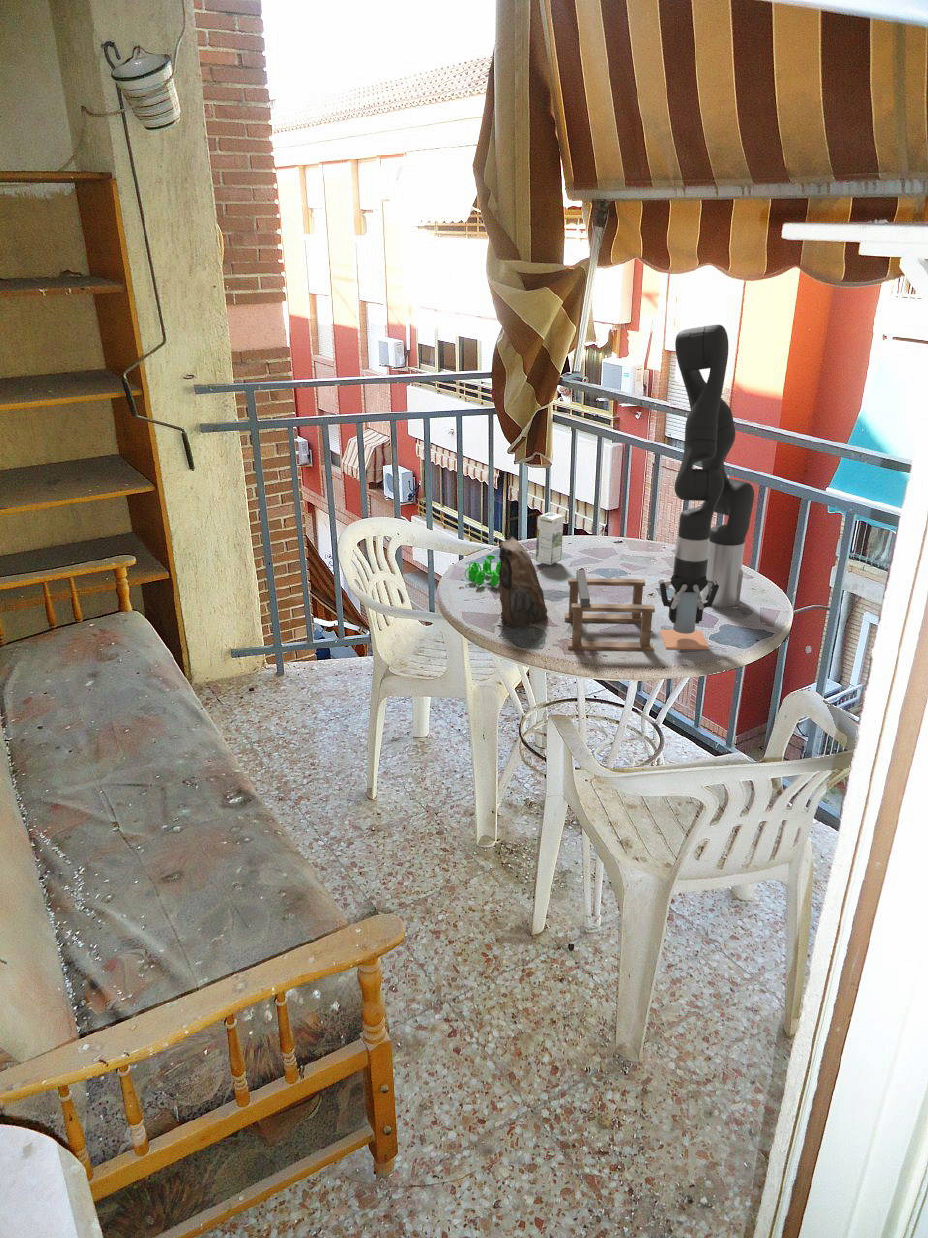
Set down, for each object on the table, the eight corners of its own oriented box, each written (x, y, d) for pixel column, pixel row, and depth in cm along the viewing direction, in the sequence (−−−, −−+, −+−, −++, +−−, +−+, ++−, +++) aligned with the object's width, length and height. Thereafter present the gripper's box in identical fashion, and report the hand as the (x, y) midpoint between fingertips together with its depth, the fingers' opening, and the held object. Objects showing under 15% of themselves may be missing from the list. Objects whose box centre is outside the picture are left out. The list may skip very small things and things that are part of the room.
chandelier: (509, 569, 254) (510, 547, 251) (521, 586, 241) (522, 563, 238) (460, 572, 252) (460, 550, 249) (469, 590, 238) (469, 567, 235)
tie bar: (584, 577, 215) (584, 570, 214) (589, 606, 197) (589, 598, 196) (576, 577, 215) (576, 569, 214) (580, 606, 197) (581, 598, 196)
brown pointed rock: (513, 631, 212) (514, 554, 204) (480, 615, 221) (480, 542, 213) (549, 618, 219) (552, 544, 211) (517, 604, 228) (518, 532, 220)
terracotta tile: (700, 633, 209) (701, 630, 209) (708, 651, 200) (709, 647, 200) (659, 632, 210) (659, 629, 210) (665, 650, 201) (666, 647, 201)
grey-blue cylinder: (692, 625, 206) (697, 586, 202) (696, 633, 201) (700, 594, 198) (671, 624, 206) (675, 586, 202) (674, 633, 202) (679, 594, 198)
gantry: (642, 618, 219) (646, 578, 214) (653, 651, 200) (657, 609, 196) (564, 616, 220) (566, 577, 216) (568, 649, 202) (570, 607, 197)
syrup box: (546, 556, 263) (547, 511, 257) (562, 560, 260) (563, 514, 254) (535, 561, 259) (536, 515, 253) (551, 565, 256) (553, 519, 250)
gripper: (720, 550, 200) (712, 616, 206) (658, 548, 201) (652, 615, 207) (726, 560, 193) (718, 629, 199) (662, 559, 194) (656, 627, 200)
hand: (684, 621), depth 203 cm, fingers closed on grey-blue cylinder, 5 cm apart
